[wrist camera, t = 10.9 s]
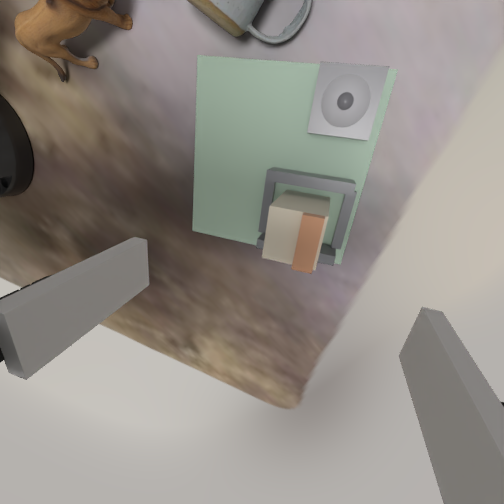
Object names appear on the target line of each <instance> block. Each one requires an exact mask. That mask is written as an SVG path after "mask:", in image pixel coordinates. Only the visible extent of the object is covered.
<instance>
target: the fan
mask: <svg viewBox="0 0 504 504" xmlns="http://www.w3.org/2000/svg"><path fill="white" fill-rule="evenodd" d="M388 70H389V66H375V65H361V64H347V63H333V62H320V67H319V72H318V78H317V83H316V88H315V93H314V99H313V104H312V109H311V114H310V120H309V125H308V130H307V133H310V134H316V135H324V136H332V137H340V138H347V139H355V140H363V141H368V140H369V137H370V134H371V130H372V127H373V123H374V120H375V116H376V113H377V109H378V106H379V102H380V98H381V95H382V91H383V88H384V84H385V81H386V77H387V74H388Z"/></svg>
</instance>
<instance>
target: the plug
mask: <svg viewBox="0 0 504 504" xmlns="http://www.w3.org/2000/svg"><path fill="white" fill-rule="evenodd" d="M329 207H330V197H327V196H321V195H315V194H309V193H304V192H298V191H292V190H286V191H285V192H284V193H282V194H281V195H280V196H279V197H278V198H277V199H276V200H275V201H274V202H273V203H272V204H271V205H270V207H269V213H268V220H267V227H266V233H265V240H264V247H263V253H262V258H265V259H269V260H274V261H278V262H282V263H286V264H291V265H292V268H291V269H293V270H297V271H301V272H305V273H310V274H312V270H316V266H317V262H318V258H319V254H320V250H321V246H322V242H323V238H324V233H325V229H326V225H327V221H328V217H329Z"/></svg>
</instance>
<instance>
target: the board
mask: <svg viewBox="0 0 504 504" xmlns="http://www.w3.org/2000/svg"><path fill="white" fill-rule="evenodd" d="M319 67H320V64H312V63H298V62H285V61H271V60H257V59H243V58H229V57H215V56H202V55H197V89H196V124H195V159H194V193H193V228H192V231H196V232H200V233H205V234H209V235H213V236H218V237H222V238H226V239H231V240H235V241H240V242H244V243H248V244H253V245H257V239H258V238H259V236H260V235H261V234H262V233H261V232H258V230H259V222H260V215H261V208H262V201H263V194H264V187H265V180H266V173H267V169H270V168H272V167H277V168H283V169H290V170H296V171H302V172H308V173H314V174H321V175H327V176H333V177H339V178H346V179H352V180H354V181H355V183H356V187H355V190H354V191H357V194H356V198H355V201H354V205H353V208H352V212H351V215H350V219H349V222H348V226H347V229H346V233H345V236H344V240H343V243H342V247H341V250H340V249H336V258H335V261H334V263H336V264H341V261H342V257H343V254H344V251H345V247H346V244H347V240H348V237H349V234H350V230H351V227H352V223H353V220H354V217H355V213H356V210H357V207H358V203H359V200H360V196H361V193H362V190H363V186H364V183H365V179H366V176H367V173H368V169H369V166H370V162H371V159H372V156H373V152H374V149H375V146H376V142H377V139H378V135H379V132H380V129H381V125H382V122H383V118H384V115H385V112H386V108H387V105H388V101H389V98H390V95H391V91H392V88H393V85H394V81H395V78H396V74H397V71H398V70H395V69H389V70H388V74H387V77H386V81H385V84H384V88H383V91H382V95H381V98H380V102H379V106H378V109H377V113H376V116H375V120H374V123H373V127H372V130H371V134H370V137H369V140H368V141H363V140H355V139H347V138H340V137H332V136H324V135H316V134H310V133H307V130H308V125H309V120H310V114H311V109H312V104H313V99H314V93H315V88H316V83H317V78H318V72H319ZM286 190H292V191H298V192H304V193H309V194H315V195H321V196H327V197H330V207H329V217H328V221H327V225H326V229H325V233H324V238H323V242H322V243H324V244H329V245H331V243H332V239H333V236H334V232H335V228H336V224H337V221H338V217H339V213H340V210H341V206H342V202H343V198H344V195H345V194H341V193H335V192H329V191H323V190H318V189H312V188H306V187H300V186H294V185H289V184H283V183H277V182H276V187H275V193H274V199H273V202H274V201H275V200H276V199H277V198H278V197H279V196H280V195H281V194H282V193H284V192H285V191H286Z"/></svg>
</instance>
